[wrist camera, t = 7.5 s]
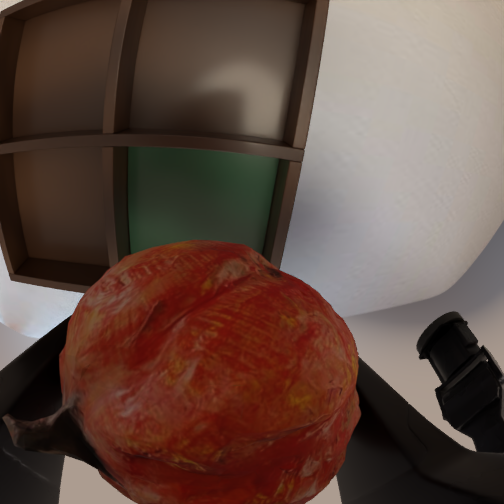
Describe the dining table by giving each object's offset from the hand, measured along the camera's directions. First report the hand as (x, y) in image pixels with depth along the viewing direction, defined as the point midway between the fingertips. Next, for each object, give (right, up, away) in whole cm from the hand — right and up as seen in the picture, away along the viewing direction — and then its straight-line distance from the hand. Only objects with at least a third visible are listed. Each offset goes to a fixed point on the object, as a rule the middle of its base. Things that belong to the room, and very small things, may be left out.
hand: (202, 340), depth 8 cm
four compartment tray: (-6, +10, +7) cm, 14 cm away
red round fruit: (0, +1, +1) cm, 2 cm away
